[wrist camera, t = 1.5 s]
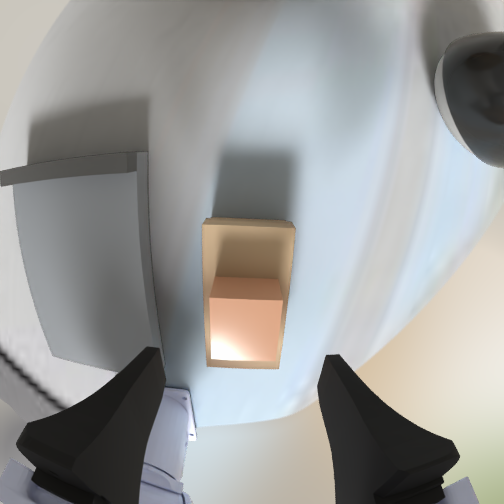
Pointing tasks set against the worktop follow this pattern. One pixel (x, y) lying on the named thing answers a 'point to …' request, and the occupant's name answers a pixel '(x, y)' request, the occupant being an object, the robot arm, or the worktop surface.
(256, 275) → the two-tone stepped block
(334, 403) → the robot arm
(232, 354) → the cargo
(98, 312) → the dock
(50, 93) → the worktop surface
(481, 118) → the dark grey egg shape
